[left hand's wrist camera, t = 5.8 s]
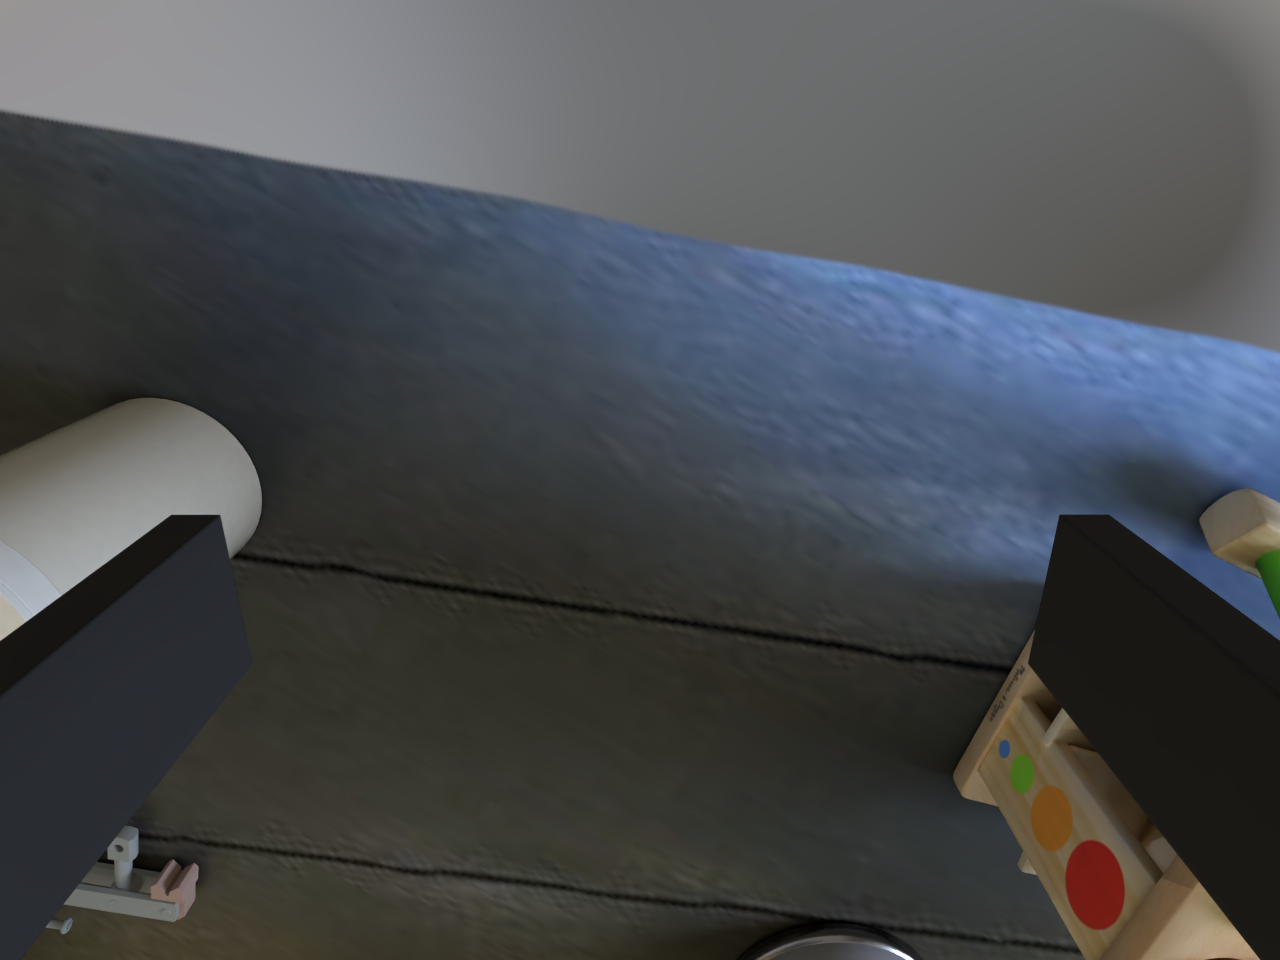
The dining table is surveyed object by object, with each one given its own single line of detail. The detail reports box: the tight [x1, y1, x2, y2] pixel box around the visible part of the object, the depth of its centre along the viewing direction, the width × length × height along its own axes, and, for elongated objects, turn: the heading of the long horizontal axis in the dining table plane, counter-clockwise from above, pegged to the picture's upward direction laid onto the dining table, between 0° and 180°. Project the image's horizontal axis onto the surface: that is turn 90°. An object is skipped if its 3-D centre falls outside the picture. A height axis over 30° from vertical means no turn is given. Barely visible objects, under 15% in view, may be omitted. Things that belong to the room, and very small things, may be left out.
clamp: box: [45, 825, 199, 934], centre depth 51 cm, size 15×2×10 cm
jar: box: [0, 398, 262, 595], centre depth 35 cm, size 10×10×16 cm
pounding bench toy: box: [953, 489, 1280, 960], centre depth 38 cm, size 23×14×18 cm, turn 163°
